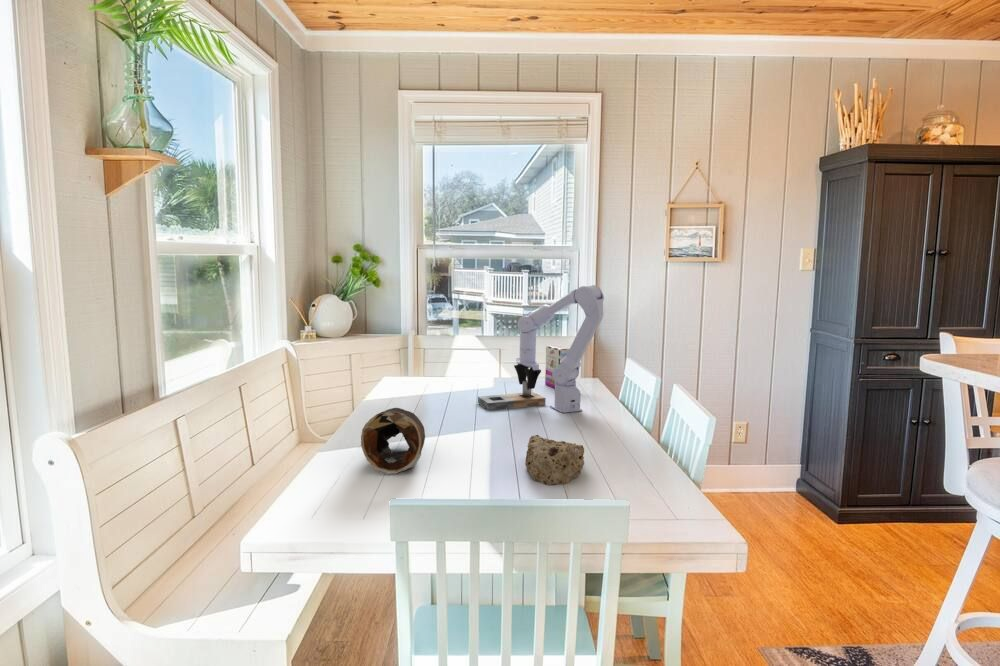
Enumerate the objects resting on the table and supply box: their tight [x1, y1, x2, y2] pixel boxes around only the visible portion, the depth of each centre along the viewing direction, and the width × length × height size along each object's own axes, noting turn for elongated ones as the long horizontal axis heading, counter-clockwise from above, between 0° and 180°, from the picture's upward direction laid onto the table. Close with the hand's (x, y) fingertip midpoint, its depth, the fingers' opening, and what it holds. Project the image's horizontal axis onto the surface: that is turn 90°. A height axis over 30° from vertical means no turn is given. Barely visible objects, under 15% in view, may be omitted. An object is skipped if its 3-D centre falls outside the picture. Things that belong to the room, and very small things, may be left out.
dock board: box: [477, 391, 546, 411], centre depth 213 cm, size 10×22×2 cm, turn 113°
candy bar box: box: [544, 345, 570, 389], centre depth 242 cm, size 11×5×16 cm, turn 25°
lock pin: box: [521, 379, 532, 398], centre depth 215 cm, size 3×3×8 cm
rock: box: [524, 434, 585, 486], centre depth 147 cm, size 21×14×10 cm
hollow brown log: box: [360, 407, 426, 475], centre depth 155 cm, size 15×15×25 cm
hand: (526, 386), depth 215 cm, fingers open, 7 cm apart
